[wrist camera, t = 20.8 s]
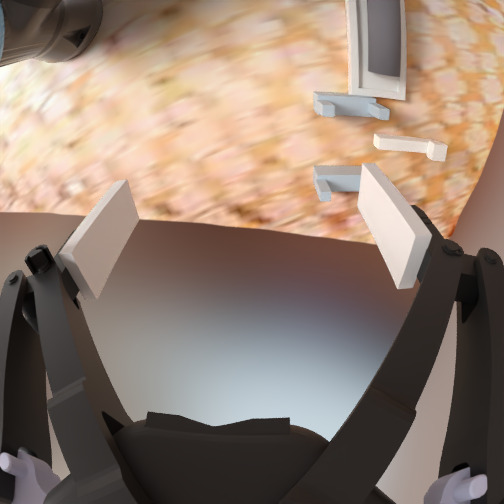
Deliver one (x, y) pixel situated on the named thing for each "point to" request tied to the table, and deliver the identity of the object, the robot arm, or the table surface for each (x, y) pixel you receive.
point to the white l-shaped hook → (412, 145)
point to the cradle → (330, 106)
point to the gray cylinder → (384, 37)
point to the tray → (358, 56)
